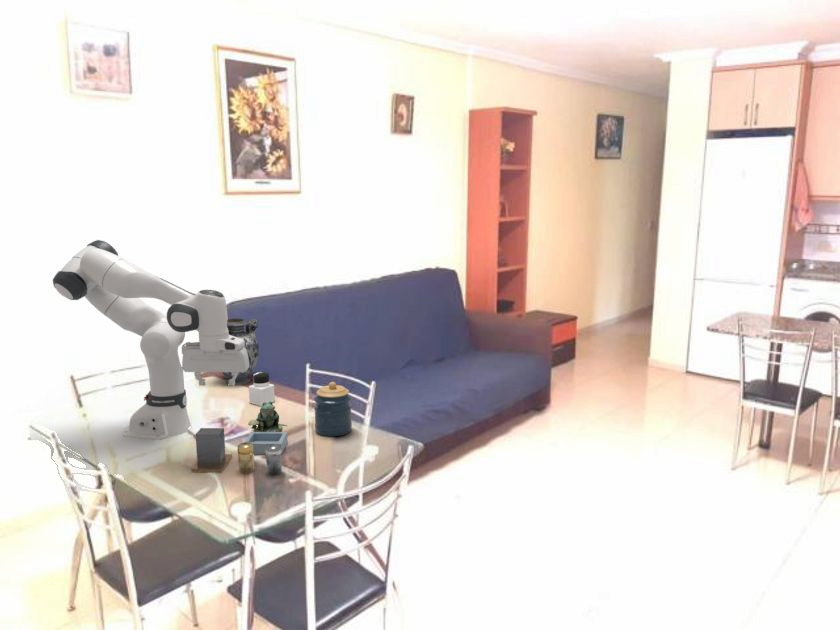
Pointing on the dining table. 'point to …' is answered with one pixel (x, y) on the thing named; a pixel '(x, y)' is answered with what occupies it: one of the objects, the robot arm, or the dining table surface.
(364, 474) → the dining table surface
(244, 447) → the gold lidded glass jar
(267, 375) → the medicine bottle
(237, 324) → the decorative vase
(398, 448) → the dining table surface
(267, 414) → the frog figurine
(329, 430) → the canister
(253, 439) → the tray
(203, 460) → the block
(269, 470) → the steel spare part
